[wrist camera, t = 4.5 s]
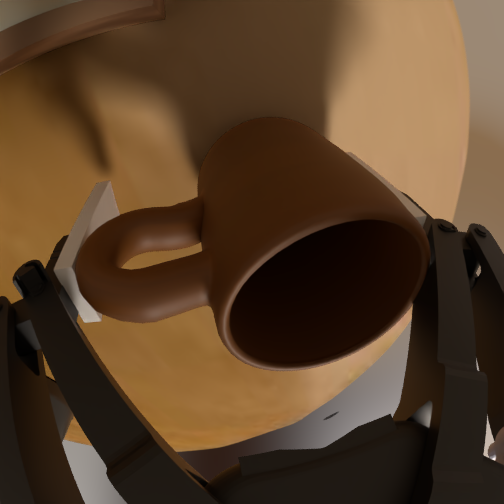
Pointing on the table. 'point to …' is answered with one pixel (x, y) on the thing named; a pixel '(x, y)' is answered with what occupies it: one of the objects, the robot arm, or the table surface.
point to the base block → (71, 27)
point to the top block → (26, 10)
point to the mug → (269, 251)
